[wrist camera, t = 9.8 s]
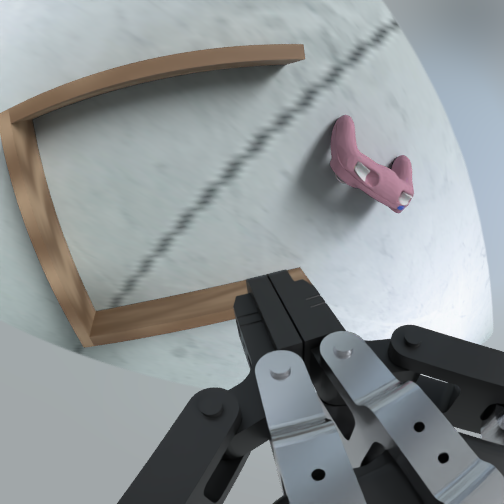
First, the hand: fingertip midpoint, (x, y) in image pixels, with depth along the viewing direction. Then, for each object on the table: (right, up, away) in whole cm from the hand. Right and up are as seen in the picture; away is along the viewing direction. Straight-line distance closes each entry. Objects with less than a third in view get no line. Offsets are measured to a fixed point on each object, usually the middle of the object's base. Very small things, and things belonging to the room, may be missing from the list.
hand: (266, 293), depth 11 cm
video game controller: (+10, +11, +16) cm, 22 cm away
